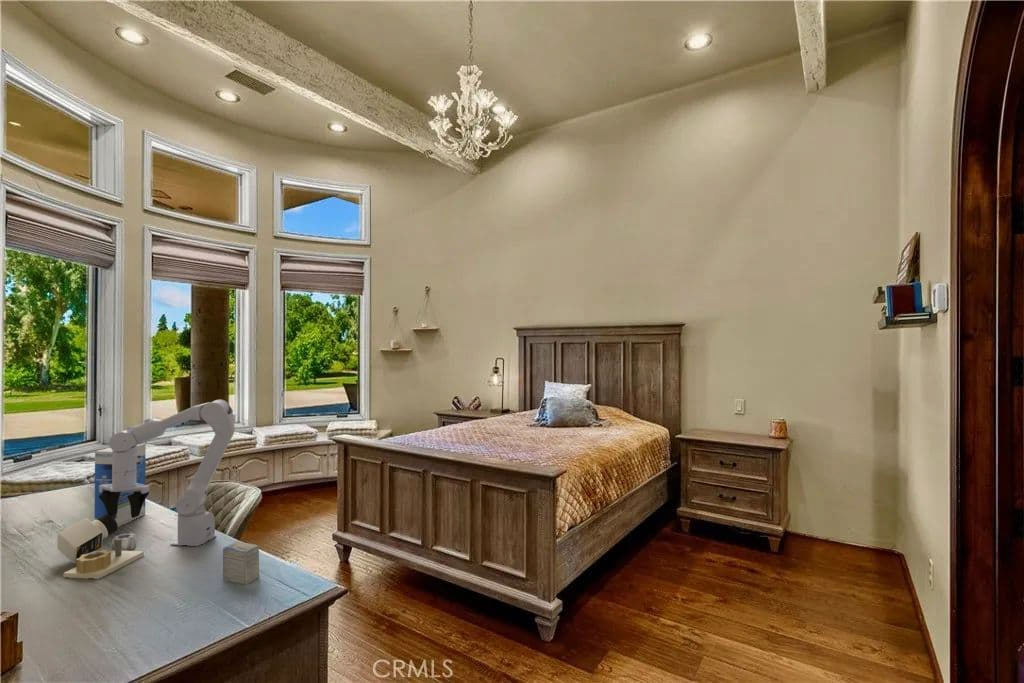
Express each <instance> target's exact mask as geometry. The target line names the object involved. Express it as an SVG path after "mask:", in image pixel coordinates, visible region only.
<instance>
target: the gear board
mask: <svg viewBox="0 0 1024 683" xmlns="http://www.w3.org/2000/svg"><path fill="white" fill-rule="evenodd" d="M144 555H145V551H144V550H143V551H141V550H126V551H122V539H117V540H115V550H112V549H111V550H110V551H108V549H104V550H98V551H97V550H96V551H93V552H92V553H88V554H83V555H81V556H80V558H78V559H76V563H75V565H76V567H73V568H70V570H67V571H65V572H63V578H66V577H68V578H67V579H69V578H70V579H71V578H73V579H88V578H94V579H93V580H100V579H102V578H104V577H106V576H107V574H108V575H109V573H110V574H111V573H113V572H115V571H116V570H119V569H121V568H123V567H125V566H126V565H129V564H130V563H132V562H134V561H136V560H138V559H141V558H143V557H145V556H144ZM105 575H106V576H105ZM103 576H104V577H103ZM101 577H102V578H101ZM99 578H100V579H99Z"/></svg>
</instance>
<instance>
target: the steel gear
mask: <svg viewBox="0 0 1024 683" xmlns="http://www.w3.org/2000/svg"><path fill="white" fill-rule="evenodd" d="M136 536H137V534H136V533H134V532H130V533H121V534H120V535H114V537H113V538H112V539H111V550H115V540H117V539H122V551H130V550H133V549H134V548H135V547H134V546H136V543H137V541H136V539H137V537H136Z"/></svg>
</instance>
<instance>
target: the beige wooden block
mask: <svg viewBox="0 0 1024 683" xmlns="http://www.w3.org/2000/svg"><path fill="white" fill-rule="evenodd" d="M256 578H257V579H259V578H260V546H259V545H258V544H254V543H247V542H243V541H242V542H241V541H235V542H232V543H230V544H228V545H226V546H224V547H223V548H222V580H223V581H225V580H226V581H227V582H231V583H235V584H241V585H245V586H247V585H248V584H250V583H252V582H254V581H255V580H257V579H256ZM253 580H254V581H253ZM251 581H252V582H251Z"/></svg>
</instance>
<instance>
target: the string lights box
mask: <svg viewBox="0 0 1024 683" xmlns="http://www.w3.org/2000/svg"><path fill="white" fill-rule="evenodd" d="M146 447H147V446H146V442H145V443H142V444H138V445H137V446H136V454H137V461H136V483H138V484H143V485H146ZM112 452H113V450H112V449H111V448H110V447H107V448H103V449H99V450H94V520H96V519H97V518H99V517H101V516H103V515H105V514H108V513H107V510H106V508H105V505H104V504H103V502H102V501H101V499H100V498H99V495H100V494H102V493H103V492H99V486H100V485H103V484H112ZM131 494H134V492H121V493H120V496H119V500H118V510H117V515H114V516H112V517H113V518H114V519H115V520H116V522H117V526H118V528H119V527H122V526H123V524H124V525H125V524H128V523H130V522H132V520H133V521H134V519H135V520H137V519H139V518H141V517H140V516H142V515H144V514H145V515H146V500H145V501H144V503H143V505H142V508H141V511H140V515H139V516H137V517H135V518H132V517H131V506H130V502H129V499H128V497H127V496H128V495H131ZM145 515H144V516H145ZM138 517H139V518H138ZM142 517H143V516H142ZM136 518H137V519H136ZM121 525H122V526H121Z"/></svg>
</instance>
